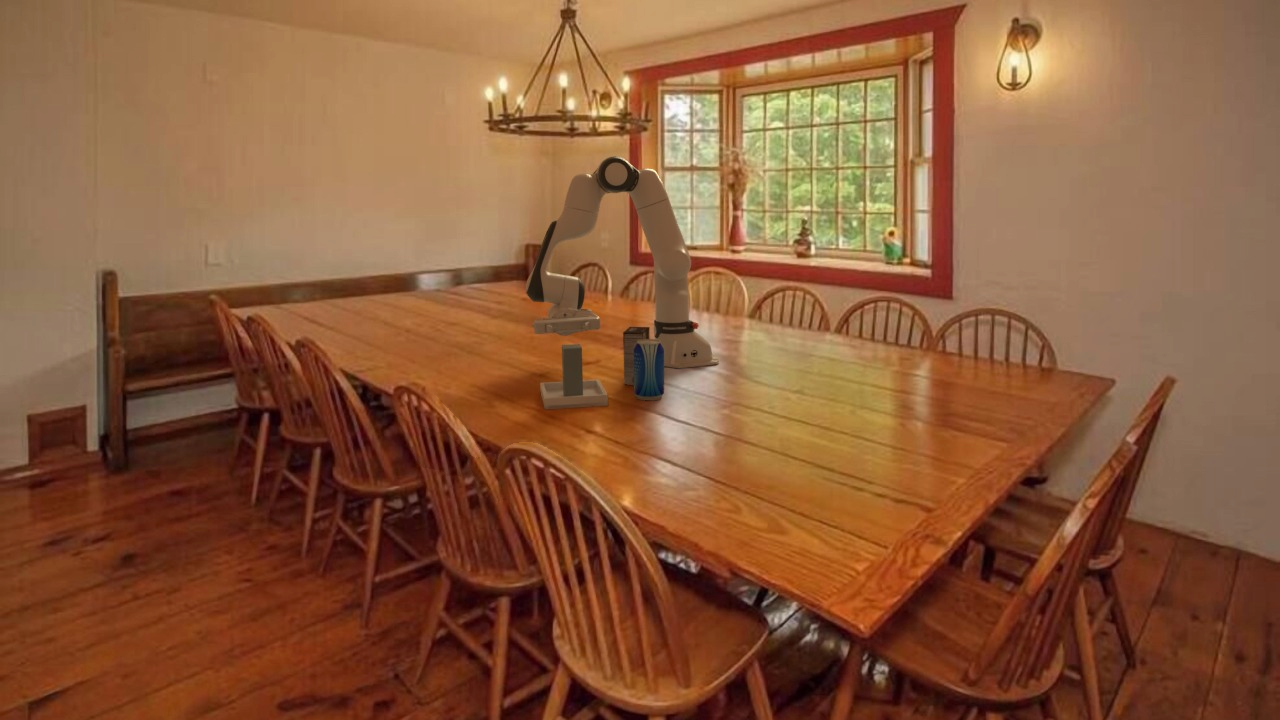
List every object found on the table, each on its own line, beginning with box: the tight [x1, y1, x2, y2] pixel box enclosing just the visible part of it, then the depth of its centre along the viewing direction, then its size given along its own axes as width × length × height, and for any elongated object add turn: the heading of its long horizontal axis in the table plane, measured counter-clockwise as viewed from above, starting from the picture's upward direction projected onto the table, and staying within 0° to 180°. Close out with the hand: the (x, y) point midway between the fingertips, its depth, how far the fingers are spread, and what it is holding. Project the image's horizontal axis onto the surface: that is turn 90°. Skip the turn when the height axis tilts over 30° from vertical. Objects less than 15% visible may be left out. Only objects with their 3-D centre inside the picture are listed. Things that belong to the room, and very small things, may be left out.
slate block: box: [561, 343, 584, 397], centre depth 217 cm, size 5×5×14 cm
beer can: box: [633, 338, 665, 401], centre depth 218 cm, size 8×8×16 cm
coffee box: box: [622, 326, 651, 386], centre depth 235 cm, size 9×6×16 cm
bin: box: [539, 378, 609, 411], centre depth 219 cm, size 17×17×3 cm
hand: (569, 329), depth 233 cm, fingers open, 8 cm apart
